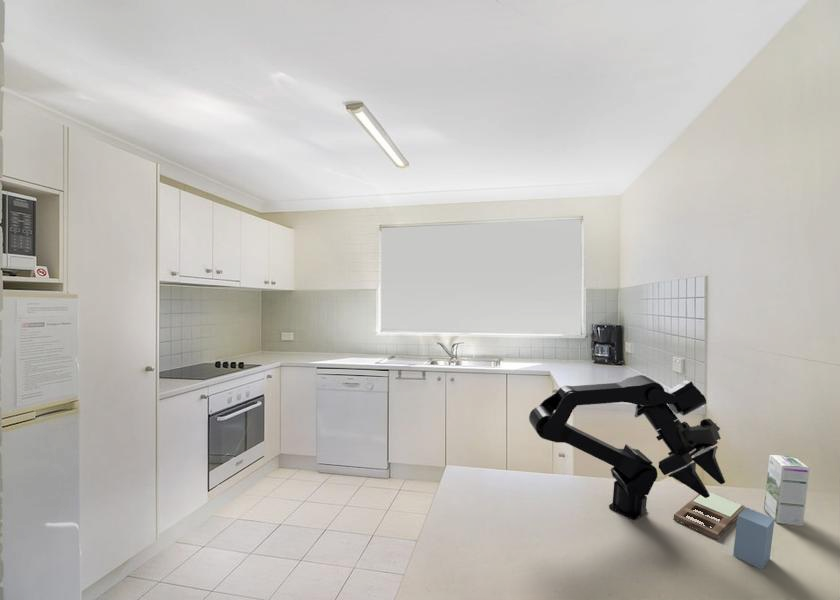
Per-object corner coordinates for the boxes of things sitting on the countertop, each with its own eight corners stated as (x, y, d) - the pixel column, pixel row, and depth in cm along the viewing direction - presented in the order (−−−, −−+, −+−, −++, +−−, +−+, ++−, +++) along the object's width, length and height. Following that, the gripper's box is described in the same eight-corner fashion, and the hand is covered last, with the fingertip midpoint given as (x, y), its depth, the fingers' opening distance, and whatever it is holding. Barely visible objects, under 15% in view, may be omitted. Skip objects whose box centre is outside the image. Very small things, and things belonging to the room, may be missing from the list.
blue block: (733, 555, 93) (737, 515, 92) (741, 545, 96) (745, 506, 95) (762, 569, 89) (767, 527, 88) (769, 558, 92) (774, 518, 91)
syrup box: (804, 526, 103) (812, 467, 101) (775, 523, 104) (782, 464, 103) (789, 512, 109) (796, 456, 107) (761, 509, 110) (768, 453, 108)
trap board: (673, 519, 105) (674, 513, 105) (703, 494, 116) (704, 489, 116) (716, 539, 98) (717, 533, 98) (744, 510, 109) (745, 505, 109)
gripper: (679, 418, 94) (734, 491, 86) (712, 400, 105) (763, 463, 98) (638, 441, 101) (686, 509, 93) (673, 421, 112) (718, 481, 105)
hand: (715, 490), depth 97 cm, fingers open, 9 cm apart
